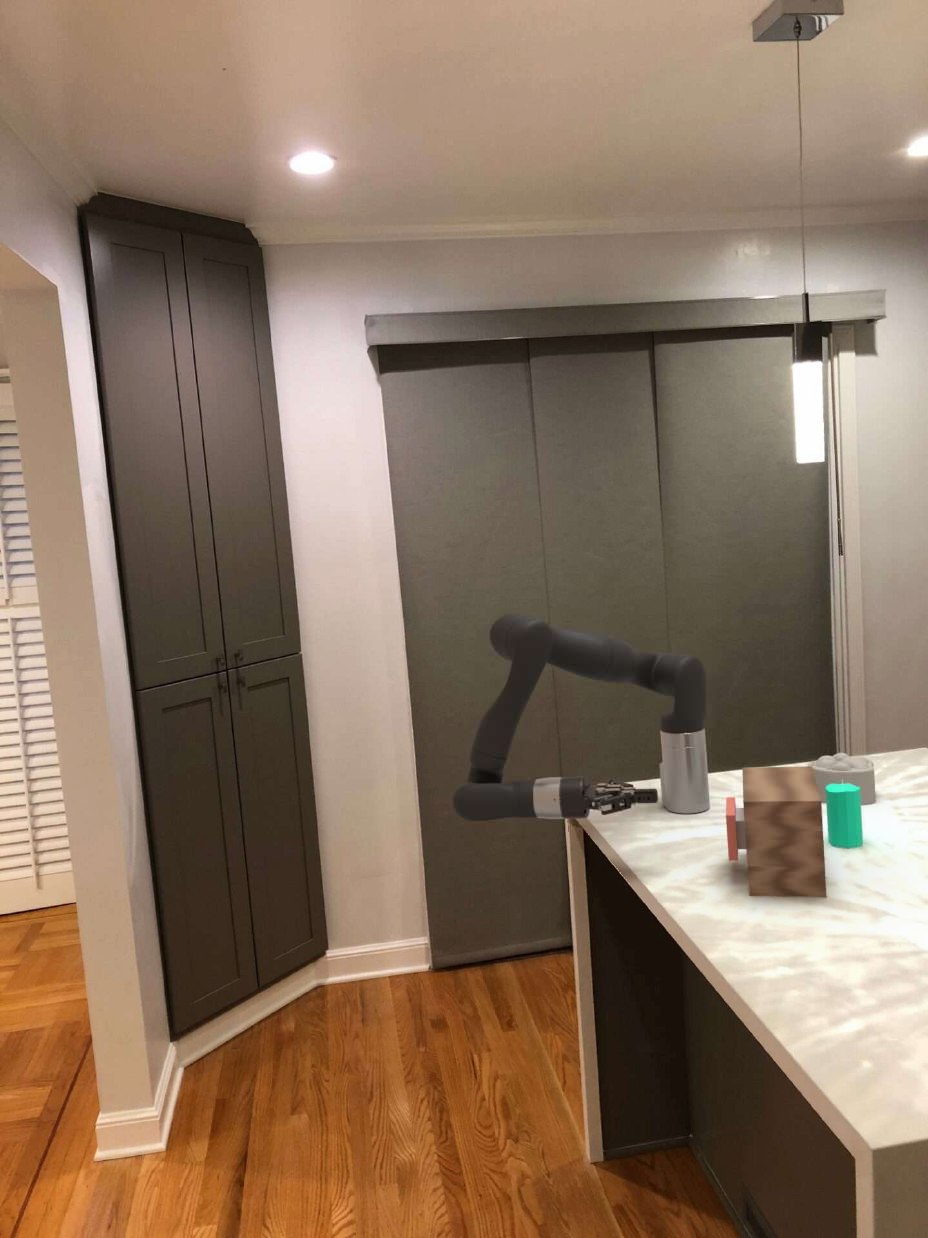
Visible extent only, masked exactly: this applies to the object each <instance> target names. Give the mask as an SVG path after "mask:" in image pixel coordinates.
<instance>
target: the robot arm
mask: <svg viewBox="0 0 928 1238" xmlns="http://www.w3.org/2000/svg"><path fill="white" fill-rule="evenodd" d="M489 641H490V644H491V646H492V648H493V650H494V652H495V653H497V654H498V656H500V657H501V658H502V659H505V660H507V661H509V662H511V665H510V668H509V669H510V670H509V672H508V676H507V680H506V682H505V684H504V686H503V688H502V689H501V692H499V694H498V696H496V698H495V700H493V702H492V703H491V705H490V706H489V707H488V709H486V711H485V713H484V714H483V716H482V717H481V719H480V721H479V724H478V726H477V730H476V732H475V735H474V739H473V742H472V745H471V748H470V753H469V759H468V760H469V763H470V764H471V765H470V768H469V773H468V775H467V776H468V777H467V780H466V783H464V784H462V785H461V786H459V787H458V788H457V789H456V790H455V792H454V793H453V796H452V799H451V800H452V801H451V802H452V808H453V810H454V811H455V813H456V815H457V816H458V817H460V818H461V819H463V820H465V821H470V822H481V821H484V822H485V821H492V820H501V819H502V820H503V819H508V818H511V819H512V818H514V819H547V820H564V819H565V820H568V819H571V820H572V819H574V820H575V819H579V820H580V819H587V818H588V817H589V815H590V811H596V810H597V811H598V812H599V811H600V813H601V815H602V816H606V815H610V814H615V813H618V812H622V811H627V810H630V809H632V806H635V805H637V804H656V803H658V799H659V795H658V794H659V793H658V789H657V788H636V787H635V786H634V784H633V783H629V782H624V781H619V780H615V779H608V780H607V782H608V783H605V782H604V783H603V782H601V783H600V782H599V783H598V784H594V785H590V784H589V780H588V779H587V777H585V776H557V777H556V776H555V777H554V776H553V777H543V778H537V779H534V778H533V779H531V778H530V779H515V780H510V781H507V782H503V778H504V770H505V767H506V765H507V760H508V758H509V754H510V751H511V749H512V745H513V741H514V738H515V734H516V732H517V729H518V725H519V723H520V721H521V718H522V716H523V714H524V711H525V709H526V707H527V705H528V703H529V701H530V698H531V697H532V694H533V692H534V691H535V688H536V686H537V684H538V682H539V680H540V678H541V676H542V673H543V672H544V669H545V668H546V666H547V664H548V665H551V666H553V667H556V668H559V670H560V669H561V670H564V672H569V673H571V674H573V675H577V676H579V677H582V678H586V679H588V680H593V681H597V682H604V683H606V684H617V685H621V684H625V685H626V684H627V685H628V684H630V685H633V686H637V687H640V688H643V689H645V690H649V691H651V692H652V693H656V694H658V695H661V696H665V697H671V698H673V710H672V711H669V712H667V713H664V714H662V715H661V716H660V718H659V731H660V743H661V758H662V762H659V775H660V788H661V789H660V790H661V803H662V805H661V806H662V807H665V808H666V810H668V811H669V812H672V813H677V814H696V813H701V812H705V811H707V810H709V809H710V808H711V803H710V801H711V800H710V786H709V774H708V772H709V770H708V757H707V744H706V743H707V742H706V730H705V720H706V716H707V711H708V700H707V699H708V697H707V695H708V693H707V692H708V691H707V689H708V687H707V671H706V668H705V665H704V663H703V661H702V660H701V659H700V658H699V657H698V656H696V655H693V654H684V653H683V654H681V653H675V652H674V653H672V652H652V651H645V650H640V649H637V648H634V647H633V646H632V645H631V644H630V643H628V642H626V640H625V641H624V640H622V639H620V638H617V637H615V636H609V635H607V634H602V633H597V632H592V631H587V630H579V629H574V628H565V627H557V626H554V625H550V624H549V623H547V622H546V621H544V620H543V619H540V618H537V617H535V616H531V615H528V614H524V613H522V612H510V613H506V614H504V615H501V616H500V617H498V618H497V619H496V620H495V621H494V622H493V624H492V625H491V628H490V630H489Z"/></svg>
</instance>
